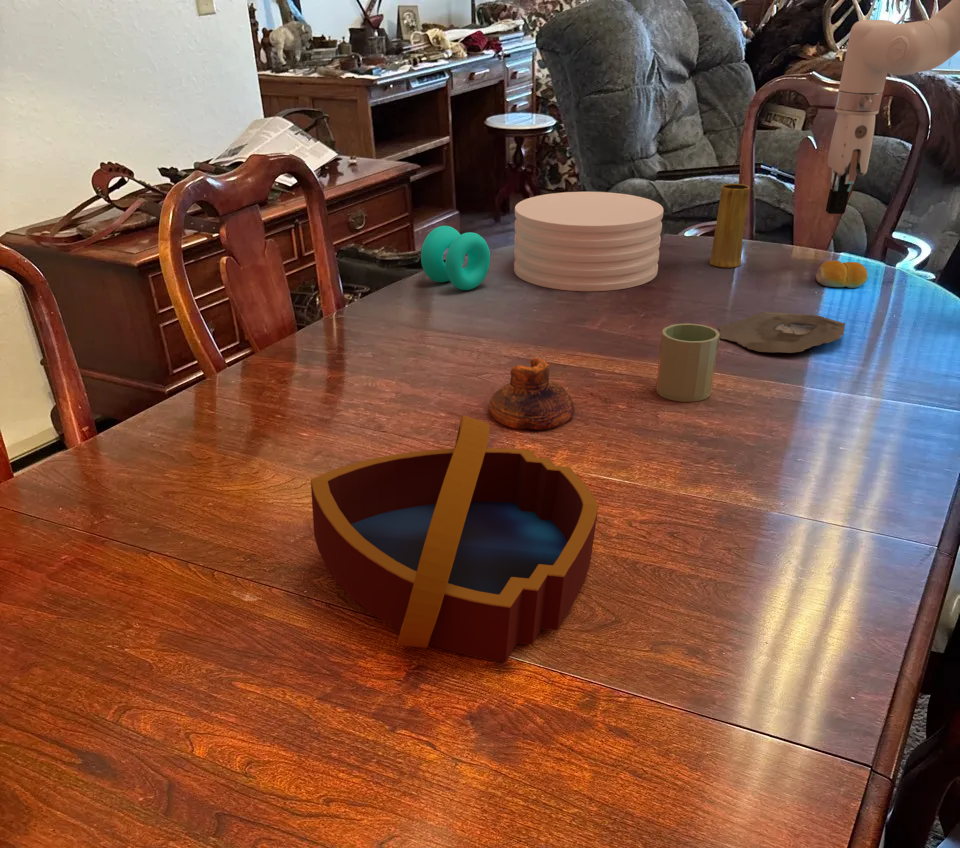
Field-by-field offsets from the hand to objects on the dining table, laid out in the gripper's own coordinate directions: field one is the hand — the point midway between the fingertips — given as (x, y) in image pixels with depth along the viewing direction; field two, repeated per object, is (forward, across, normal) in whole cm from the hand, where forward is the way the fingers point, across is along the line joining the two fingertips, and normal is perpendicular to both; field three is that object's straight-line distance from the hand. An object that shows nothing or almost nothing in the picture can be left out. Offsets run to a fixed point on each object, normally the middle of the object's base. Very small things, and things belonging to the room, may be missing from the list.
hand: (834, 212), depth 181 cm
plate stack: (+11, -1, +47) cm, 48 cm away
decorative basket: (+10, -111, +68) cm, 130 cm away
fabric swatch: (+10, -39, +18) cm, 44 cm away
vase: (+11, +3, +19) cm, 22 cm away
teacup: (+10, -63, +37) cm, 73 cm away
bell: (+10, -71, +59) cm, 93 cm away
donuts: (+11, -11, +72) cm, 73 cm away
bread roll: (+10, -10, 0) cm, 14 cm away
